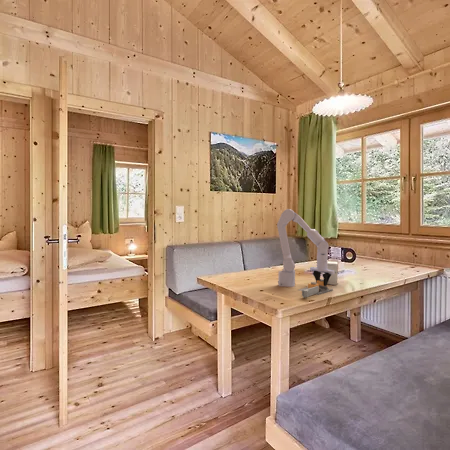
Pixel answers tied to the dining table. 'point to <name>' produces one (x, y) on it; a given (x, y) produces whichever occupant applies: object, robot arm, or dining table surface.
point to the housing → (320, 289)
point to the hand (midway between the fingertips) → (321, 285)
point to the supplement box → (333, 277)
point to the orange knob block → (320, 282)
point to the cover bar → (310, 291)
